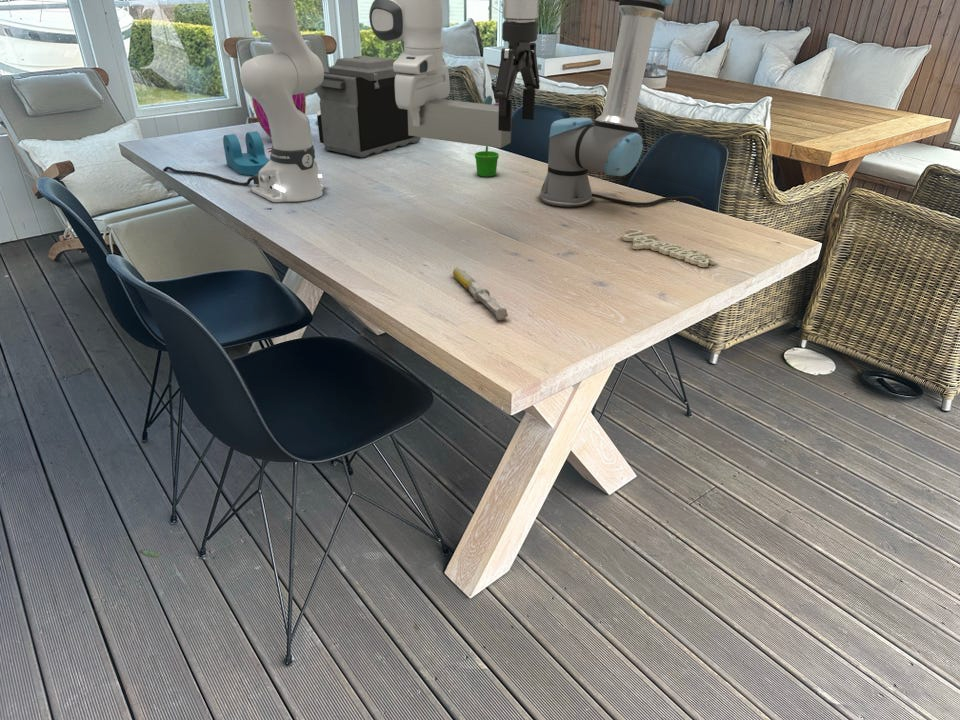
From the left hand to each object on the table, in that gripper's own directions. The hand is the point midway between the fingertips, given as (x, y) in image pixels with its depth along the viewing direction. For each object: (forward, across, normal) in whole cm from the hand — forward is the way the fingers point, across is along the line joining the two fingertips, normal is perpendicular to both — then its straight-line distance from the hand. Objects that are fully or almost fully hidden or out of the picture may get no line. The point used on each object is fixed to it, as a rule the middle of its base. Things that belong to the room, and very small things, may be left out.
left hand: (424, 122), depth 165 cm
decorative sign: (+27, -14, +58) cm, 66 cm away
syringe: (+27, +30, +29) cm, 50 cm away
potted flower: (+28, -56, -8) cm, 63 cm away
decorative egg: (+29, -64, -98) cm, 121 cm away
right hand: (-2, 0, +24) cm, 24 cm away
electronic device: (+29, -72, -64) cm, 100 cm away
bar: (+3, 0, +9) cm, 10 cm away
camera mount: (+29, -27, -82) cm, 90 cm away
